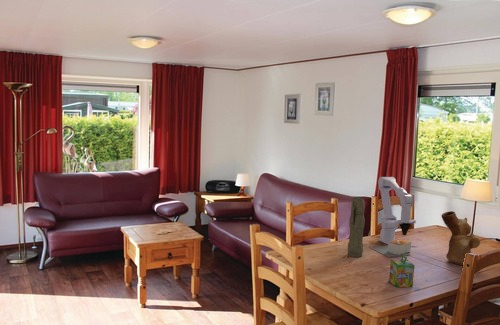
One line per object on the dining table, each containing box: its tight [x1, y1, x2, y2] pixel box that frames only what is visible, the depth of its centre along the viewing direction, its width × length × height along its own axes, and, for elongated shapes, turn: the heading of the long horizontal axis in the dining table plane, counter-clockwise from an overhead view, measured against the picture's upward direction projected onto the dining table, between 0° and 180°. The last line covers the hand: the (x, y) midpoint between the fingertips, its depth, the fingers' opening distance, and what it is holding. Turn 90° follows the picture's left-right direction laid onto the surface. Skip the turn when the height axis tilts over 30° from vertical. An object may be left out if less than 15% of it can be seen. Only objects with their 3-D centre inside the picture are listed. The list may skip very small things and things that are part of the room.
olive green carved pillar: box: [347, 196, 366, 259], centre depth 275 cm, size 9×12×35 cm
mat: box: [368, 245, 411, 258], centre depth 288 cm, size 20×16×1 cm
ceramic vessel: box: [440, 210, 481, 266], centre depth 269 cm, size 16×22×30 cm
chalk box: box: [388, 255, 415, 288], centre depth 231 cm, size 9×9×15 cm
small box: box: [387, 239, 412, 255], centre depth 286 cm, size 8×6×13 cm
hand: (404, 234), depth 290 cm, fingers closed
